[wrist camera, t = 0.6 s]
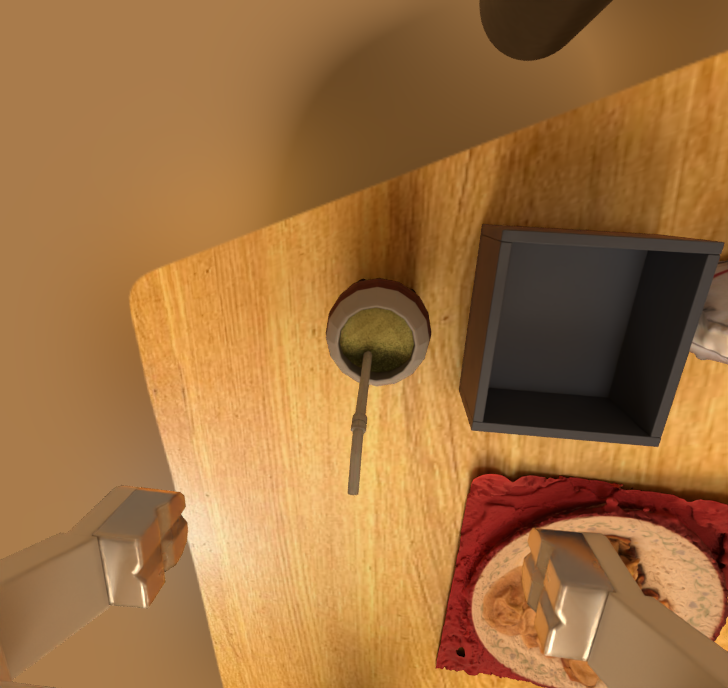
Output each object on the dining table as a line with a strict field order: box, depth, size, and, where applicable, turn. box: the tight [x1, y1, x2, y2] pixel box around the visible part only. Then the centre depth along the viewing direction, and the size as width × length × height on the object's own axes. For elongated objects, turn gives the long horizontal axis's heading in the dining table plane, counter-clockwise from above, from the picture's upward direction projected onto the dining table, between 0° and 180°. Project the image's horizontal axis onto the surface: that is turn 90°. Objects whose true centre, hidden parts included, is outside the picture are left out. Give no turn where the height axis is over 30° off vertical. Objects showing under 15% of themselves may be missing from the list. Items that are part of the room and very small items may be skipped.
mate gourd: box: [326, 278, 431, 495], centre depth 26 cm, size 8×8×15 cm
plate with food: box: [436, 474, 728, 688], centre depth 39 cm, size 24×26×4 cm
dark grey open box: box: [459, 224, 724, 447], centre depth 29 cm, size 13×12×6 cm
